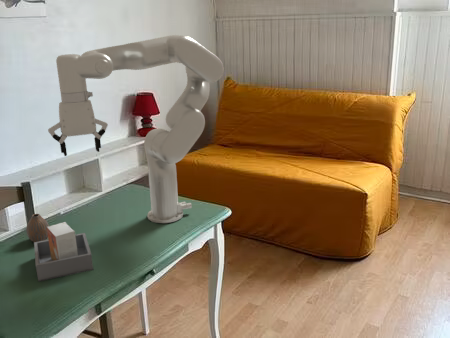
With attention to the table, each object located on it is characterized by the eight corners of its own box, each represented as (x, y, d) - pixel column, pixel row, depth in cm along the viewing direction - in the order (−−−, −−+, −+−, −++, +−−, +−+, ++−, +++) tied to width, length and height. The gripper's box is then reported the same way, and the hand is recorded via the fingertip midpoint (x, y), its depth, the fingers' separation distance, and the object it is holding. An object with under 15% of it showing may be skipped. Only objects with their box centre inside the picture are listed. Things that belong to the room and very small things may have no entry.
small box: (51, 258, 136) (45, 226, 132) (69, 252, 139) (65, 221, 136) (60, 270, 130) (54, 236, 126) (79, 263, 133) (74, 230, 129)
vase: (43, 245, 145) (39, 220, 142) (23, 244, 146) (19, 219, 143) (55, 235, 151) (51, 211, 148) (36, 234, 153) (32, 210, 150)
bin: (86, 247, 143) (84, 232, 142) (93, 269, 131) (91, 254, 129) (36, 257, 138) (34, 242, 136) (38, 281, 125) (35, 265, 124)
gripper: (102, 93, 143) (108, 146, 148) (43, 98, 136) (51, 153, 142) (106, 96, 136) (112, 152, 142) (44, 102, 130) (52, 159, 135)
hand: (81, 152), depth 142 cm, fingers open, 9 cm apart
